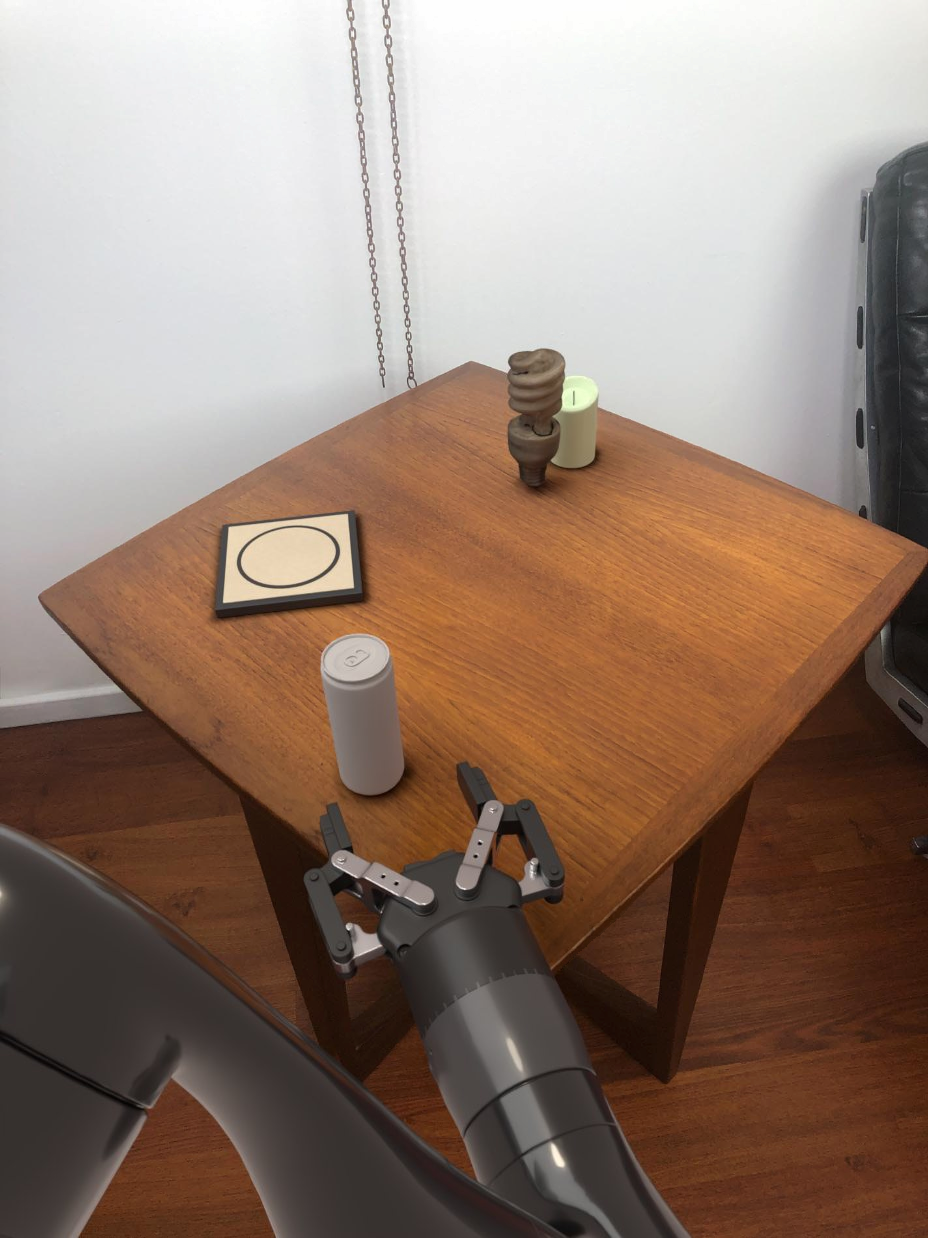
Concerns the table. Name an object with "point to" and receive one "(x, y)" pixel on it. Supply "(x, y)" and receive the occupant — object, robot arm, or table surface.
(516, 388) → the light bulb
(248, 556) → the black and cream coaster
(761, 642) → the table surface
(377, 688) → the beverage can
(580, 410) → the candle
